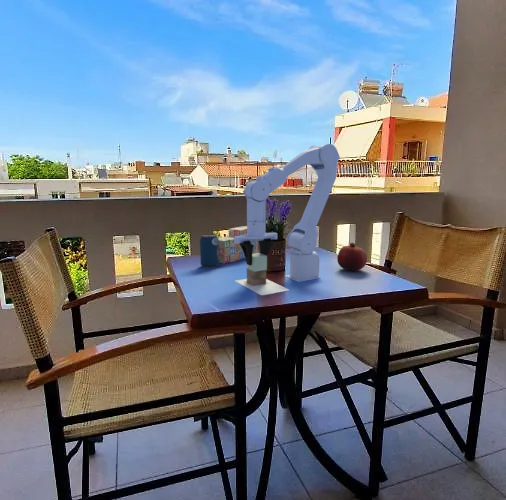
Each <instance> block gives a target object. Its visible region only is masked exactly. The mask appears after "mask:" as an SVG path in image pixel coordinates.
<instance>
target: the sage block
mask: <svg viewBox="0 0 506 500" xmlns="http://www.w3.org/2000/svg"><path fill="white" fill-rule="evenodd" d="M246 266H247V267H246V269H247V268H248V269H250V270H252V271H254V272H256V271H262V270H266V271H267V269H268V256H266V255H264V254H261V253H260V252H258V253H255V254H252V265H248V264H247V263H246Z"/></svg>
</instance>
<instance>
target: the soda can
mask: <svg viewBox="0 0 506 500" xmlns="http://www.w3.org/2000/svg"><path fill="white" fill-rule="evenodd" d="M218 238H219V237H218V235H217V234H216V233H215V234H214V233H206V234H201V237H200V239H199V255H200V259H199V260H200V265H201V266H202V268H204V269H215V268H217V267H218V266H219V264H220V263H219V240H218Z"/></svg>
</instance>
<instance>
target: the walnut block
mask: <svg viewBox="0 0 506 500" xmlns="http://www.w3.org/2000/svg"><path fill="white" fill-rule="evenodd" d="M246 279H247V282H248V283H250V284H252V285H259V284H265V283H266V279H267V270H262V271H256V272H254V271H252V270H250V269H248V268H247V267H246Z"/></svg>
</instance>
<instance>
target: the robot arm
mask: <svg viewBox="0 0 506 500" xmlns="http://www.w3.org/2000/svg"><path fill="white" fill-rule="evenodd" d="M338 151H339V150H338V148H337V147H336V146H335V145H334V144H332V143H327V144H322V145H321V144H320V145H311V146H309V147H308V148H306V149H304V150H303V151H302V152H300V153H299V154H298V155H296V156H295V157H293V158H292V159H291V160H289V161H288V162H287V163H285V164H284V165H282V166H281V167H279V166H274V167H273V166H271V167H269V168H268V169H267V170H268V171H266V172H265V173H264V174H262V175H259V176H256V178H255V179H256V180H252V181H249V182H248V183H247V184H245V187H244V189H243V194H244V197H245V198H246V226H247V234H246V235H241V236H234V243H237V244H238V243H239V244H240V246H241V248H242V250H243V252H244V255H245V258H244V259H245V261H246V265H247V264H248V265H252V252H253V247H254V245H253V244H251V243H250V242H252V241H258V246H259V253H261V254H264V255H266V256H267V257H268V255H269V252H270V251H271V249H272V247H273V245H274V241H273V240H278V232H266V227H267V225H266V214H267V213H266V202H267V201H266V200H267V199H268V198H269V196H270V194H271V193H272V192H274V191H275V190H276V189H278V188H279V187H281V186H282V185H284V184H286V183H287V180H288V176H290V175H292V174H294V173H295V172H297V171H299V170H300V169H302V168H303V167H305V166H307V165H310V167H311V168H312V169H313V170H314V171H315V173H316V175H317V180H316V183H315V185H314V187H313V189H312V192H311V195H310V197H309V199H308V201H307V204H306V207H305V208H304V211H303V214H302V217H301V218H300V220H299V222H298V223H296V224H295V225H294V226H293V228H292V230H291V231H290V232H289V233H288V235H287V237H286V244H287V246H288V247H289V274H285V275H284V277H286V278H288V279H290V280H292V281H295V282H297V283H299V282H305V281H311V280H315V279H321V276H320V256H319V254H318V252H317V251H315V250H316V247H317V241H318V240H317V239H318V236H319V232H318V230H317V226H318V223H319V220H320V219H321V216H322V214H323V211H324V209H325V206H326V204H327V201H328V199H329V196H330V194H331V191H332V190H333V186H334V184H335V182H336V179H337V174H338V169H337V168H338V162H339V160H340V157H341V156H340V154H339V152H338Z"/></svg>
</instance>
